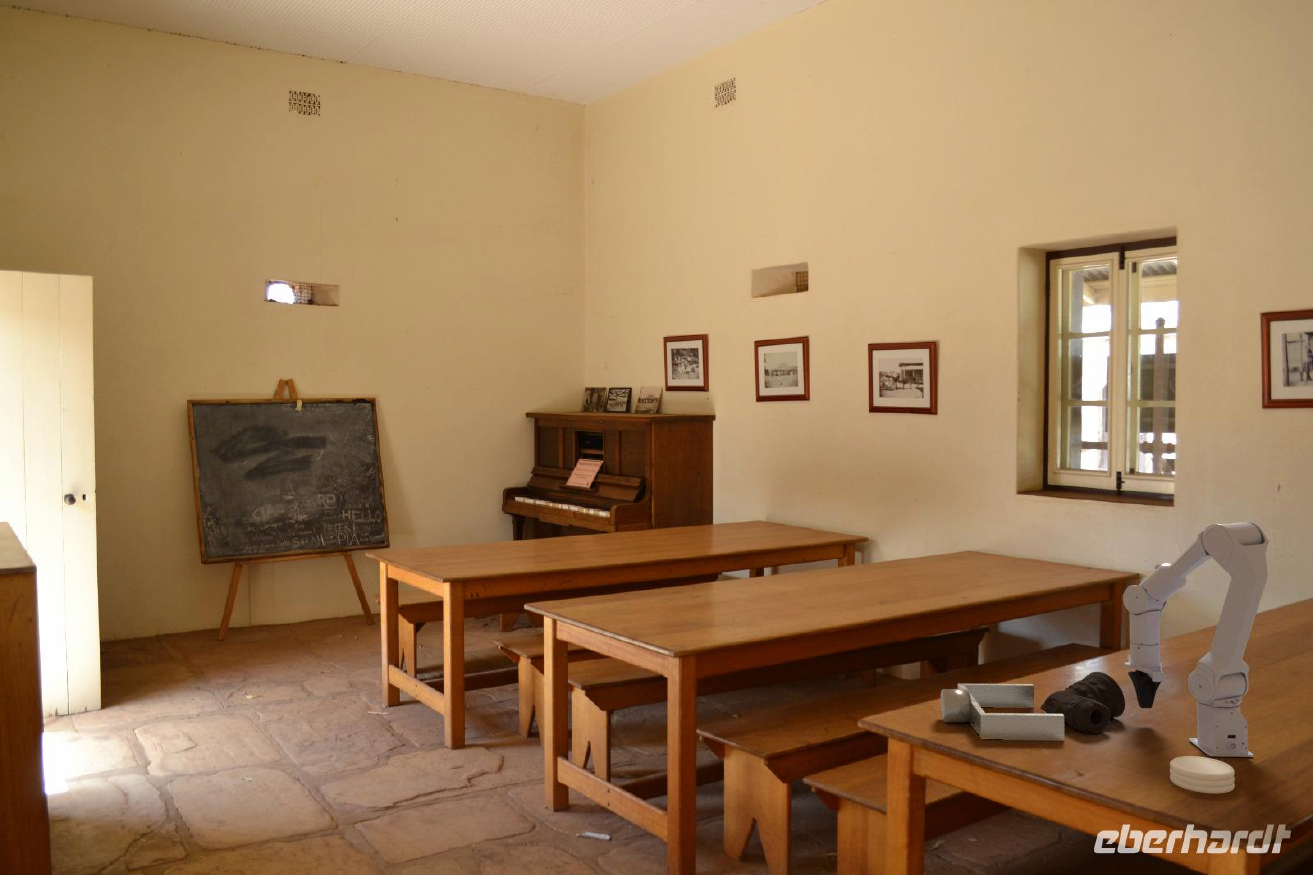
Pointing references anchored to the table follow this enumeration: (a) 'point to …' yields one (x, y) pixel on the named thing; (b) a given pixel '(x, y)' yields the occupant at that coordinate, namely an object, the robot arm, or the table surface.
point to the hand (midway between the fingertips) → (1145, 707)
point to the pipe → (1088, 703)
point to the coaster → (1202, 774)
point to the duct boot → (1000, 725)
